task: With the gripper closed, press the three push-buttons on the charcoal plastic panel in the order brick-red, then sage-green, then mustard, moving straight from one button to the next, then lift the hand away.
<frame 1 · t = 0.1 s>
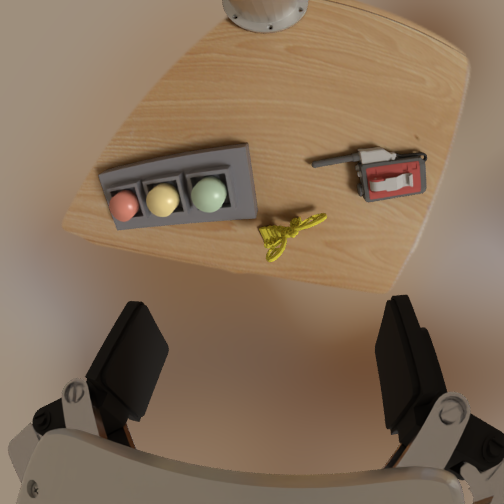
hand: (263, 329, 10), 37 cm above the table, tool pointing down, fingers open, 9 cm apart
sage button: (209, 194, 41), point 6 cm above the table, slide at 0.0 cm
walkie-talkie: (372, 171, 41), on the table
mustard button: (163, 199, 43), point 6 cm above the table, slide at 0.0 cm
button panel: (175, 186, 47), on the table
red button: (124, 205, 44), point 6 cm above the table, slide at 0.0 cm
decorative insect: (293, 223, 49), on the table
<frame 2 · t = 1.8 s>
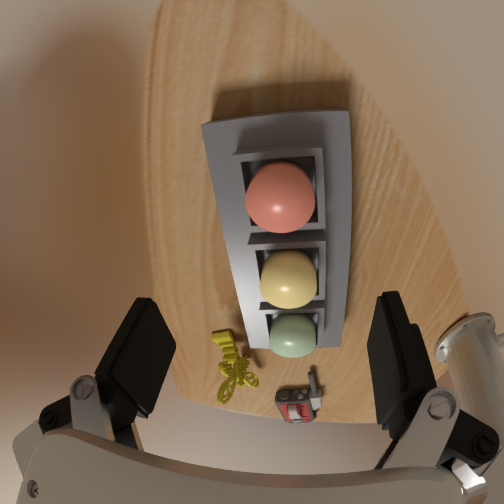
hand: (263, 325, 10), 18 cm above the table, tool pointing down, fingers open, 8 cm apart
sage button: (292, 335, 29), point 6 cm above the table, slide at 0.0 cm
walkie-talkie: (299, 392, 48), on the table
mustard button: (288, 279, 25), point 6 cm above the table, slide at 0.0 cm
button panel: (290, 245, 30), on the table
red button: (280, 196, 21), point 6 cm above the table, slide at 0.0 cm
decorative insect: (239, 353, 42), on the table
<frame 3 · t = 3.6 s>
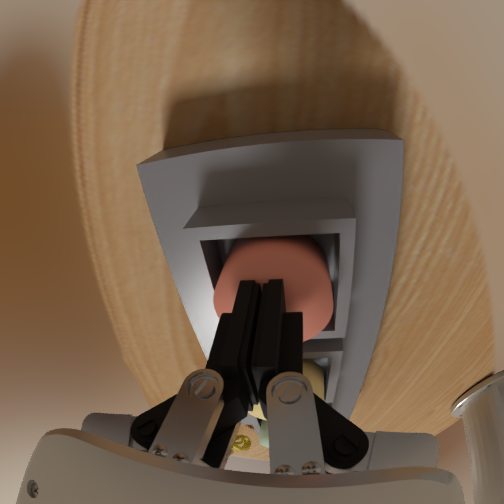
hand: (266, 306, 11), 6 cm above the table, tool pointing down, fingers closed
sage button: (289, 431, 20), point 6 cm above the table, slide at 0.0 cm
mustard button: (284, 392, 16), point 6 cm above the table, slide at 0.0 cm
button panel: (289, 326, 21), on the table
red button: (274, 289, 12), point 5 cm above the table, slide at 0.9 cm, touching gripper
decorative insect: (228, 416, 33), on the table
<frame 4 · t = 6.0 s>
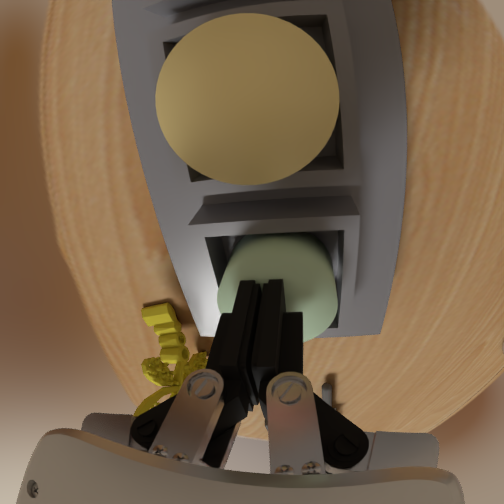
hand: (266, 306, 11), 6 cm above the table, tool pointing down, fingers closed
sage button: (278, 288, 12), point 5 cm above the table, slide at 0.7 cm, touching gripper
mustard button: (249, 96, 7), point 6 cm above the table, slide at 0.0 cm
button panel: (267, 94, 12), on the table
decorative insect: (194, 347, 25), on the table
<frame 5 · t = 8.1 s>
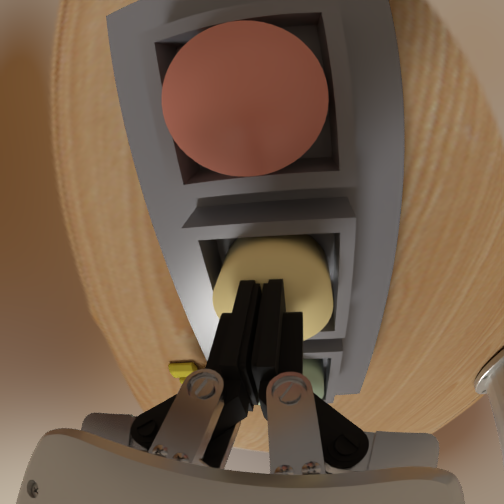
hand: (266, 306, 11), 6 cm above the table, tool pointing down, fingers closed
sage button: (285, 378, 17), point 5 cm above the table, slide at 1.1 cm
mustard button: (274, 288, 12), point 5 cm above the table, slide at 0.9 cm, touching gripper
button panel: (280, 234, 16), on the table
red button: (247, 96, 8), point 5 cm above the table, slide at 1.0 cm
decorative insect: (211, 389, 29), on the table
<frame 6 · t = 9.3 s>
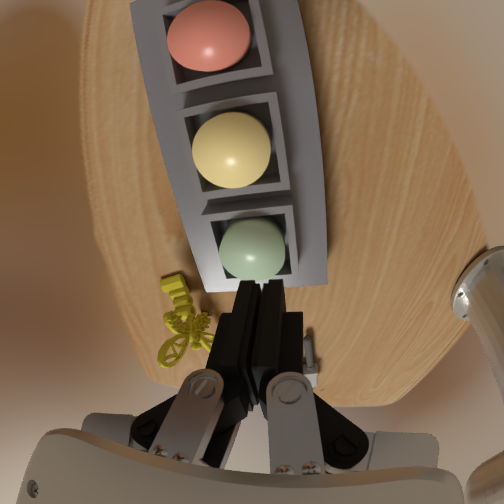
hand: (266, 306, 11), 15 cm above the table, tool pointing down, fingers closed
sage button: (253, 246, 22), point 5 cm above the table, slide at 1.1 cm
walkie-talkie: (290, 368, 41), on the table
mustard button: (233, 147, 18), point 5 cm above the table, slide at 1.1 cm
button panel: (242, 135, 21), on the table
red button: (211, 37, 13), point 5 cm above the table, slide at 1.0 cm
decorative insect: (198, 309, 34), on the table
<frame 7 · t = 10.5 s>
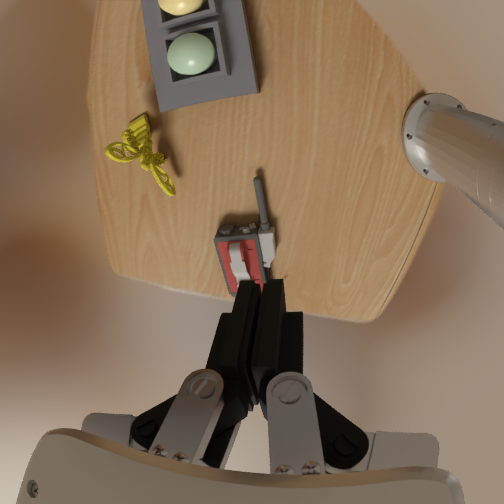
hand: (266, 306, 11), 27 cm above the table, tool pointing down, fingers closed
sage button: (192, 54, 24), point 5 cm above the table, slide at 1.1 cm
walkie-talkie: (247, 238, 42), on the table
button panel: (196, 6, 23), on the table
decorative insect: (156, 154, 36), on the table
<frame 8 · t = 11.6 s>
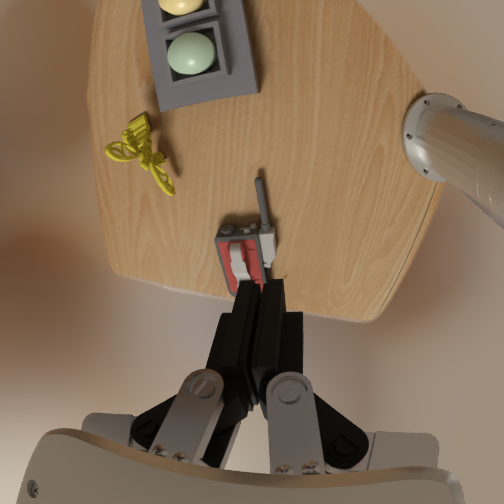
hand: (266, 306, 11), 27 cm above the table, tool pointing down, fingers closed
sage button: (192, 54, 24), point 5 cm above the table, slide at 1.1 cm
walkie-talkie: (247, 239, 42), on the table
button panel: (196, 6, 23), on the table
decorative insect: (156, 153, 36), on the table
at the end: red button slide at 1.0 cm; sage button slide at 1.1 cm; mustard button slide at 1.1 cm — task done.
